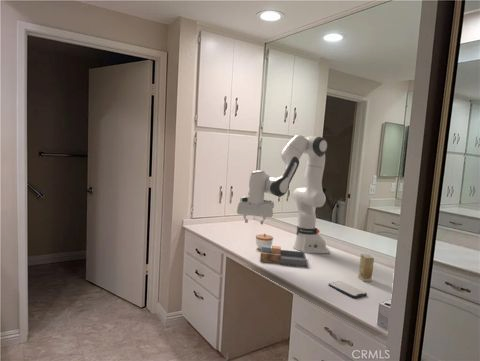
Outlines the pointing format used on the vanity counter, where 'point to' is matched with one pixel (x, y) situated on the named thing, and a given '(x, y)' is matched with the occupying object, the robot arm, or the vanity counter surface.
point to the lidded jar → (263, 240)
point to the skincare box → (366, 267)
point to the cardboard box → (270, 257)
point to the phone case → (348, 290)
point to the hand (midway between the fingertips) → (254, 223)
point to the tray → (293, 258)
